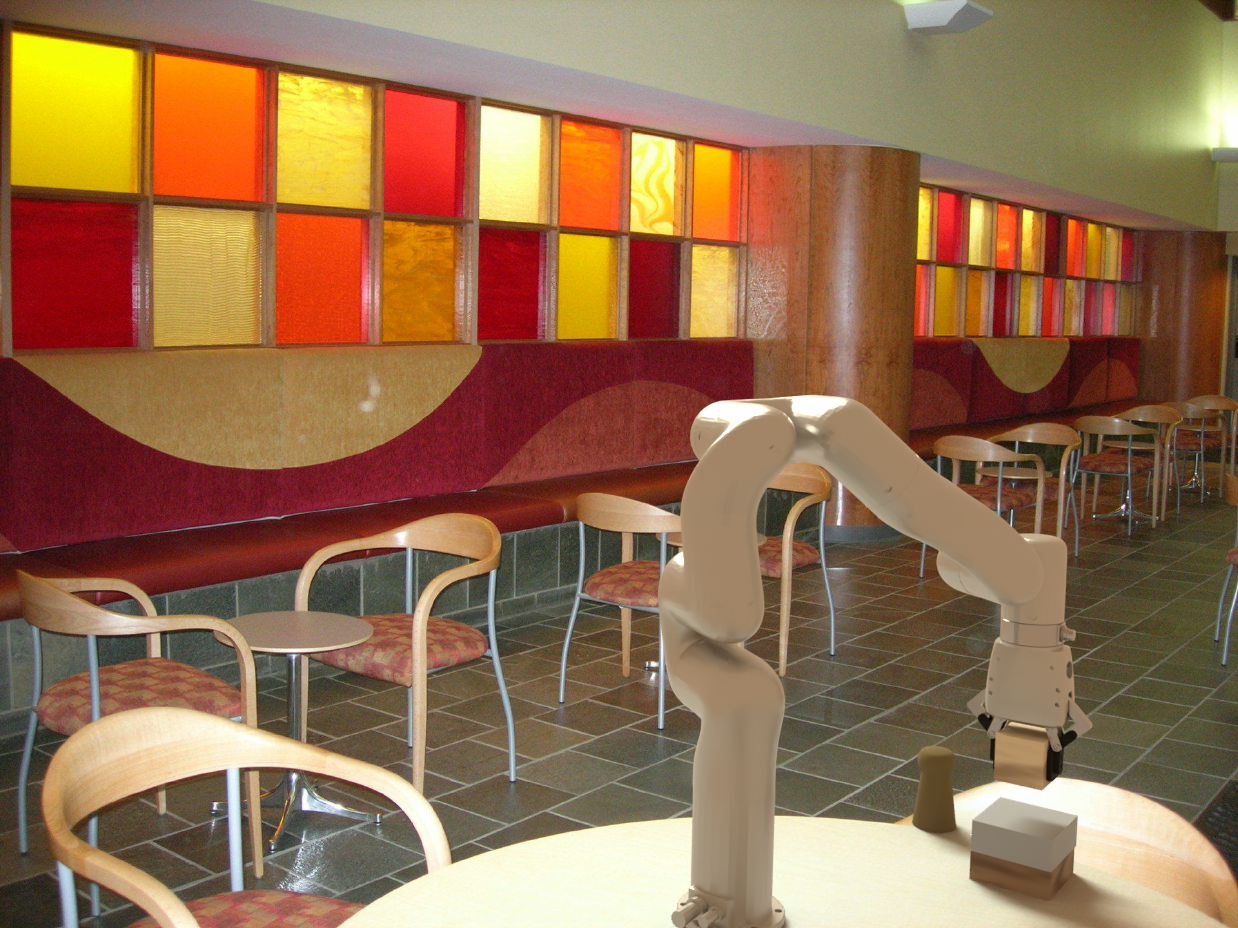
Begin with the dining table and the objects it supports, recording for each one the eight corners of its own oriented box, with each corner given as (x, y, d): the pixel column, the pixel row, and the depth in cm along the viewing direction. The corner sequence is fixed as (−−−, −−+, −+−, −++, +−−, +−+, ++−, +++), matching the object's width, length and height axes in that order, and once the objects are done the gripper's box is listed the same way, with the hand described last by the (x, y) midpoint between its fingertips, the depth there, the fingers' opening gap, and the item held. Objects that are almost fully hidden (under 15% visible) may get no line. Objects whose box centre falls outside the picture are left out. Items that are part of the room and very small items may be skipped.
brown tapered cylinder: (957, 834, 165) (961, 757, 164) (912, 830, 166) (915, 753, 165) (954, 817, 171) (957, 743, 170) (911, 814, 172) (914, 739, 171)
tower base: (1049, 903, 145) (1051, 871, 145) (969, 880, 151) (970, 850, 151) (1073, 874, 153) (1074, 844, 153) (995, 854, 159) (997, 825, 159)
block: (1042, 790, 147) (1044, 743, 146) (993, 779, 151) (995, 733, 150) (1056, 776, 152) (1058, 730, 151) (1009, 766, 155) (1011, 721, 155)
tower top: (1051, 872, 145) (1052, 840, 144) (970, 850, 151) (972, 819, 150) (1076, 845, 152) (1077, 815, 152) (999, 825, 159) (1000, 796, 158)
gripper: (1111, 637, 147) (1104, 779, 149) (974, 618, 157) (969, 750, 159) (1094, 649, 141) (1087, 797, 143) (953, 628, 151) (948, 766, 153)
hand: (1025, 771), depth 151 cm, fingers closed on block, 6 cm apart
